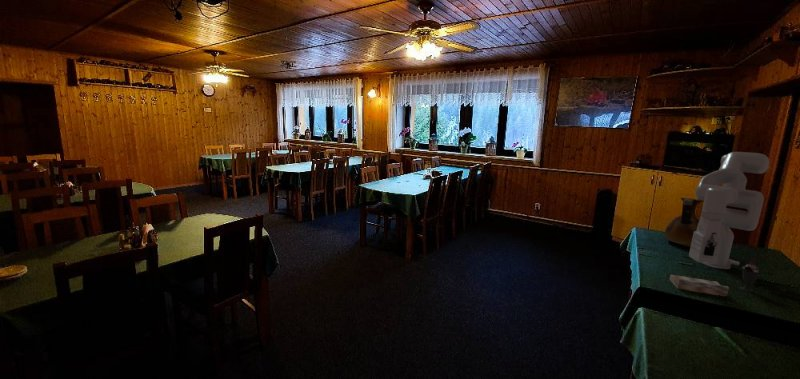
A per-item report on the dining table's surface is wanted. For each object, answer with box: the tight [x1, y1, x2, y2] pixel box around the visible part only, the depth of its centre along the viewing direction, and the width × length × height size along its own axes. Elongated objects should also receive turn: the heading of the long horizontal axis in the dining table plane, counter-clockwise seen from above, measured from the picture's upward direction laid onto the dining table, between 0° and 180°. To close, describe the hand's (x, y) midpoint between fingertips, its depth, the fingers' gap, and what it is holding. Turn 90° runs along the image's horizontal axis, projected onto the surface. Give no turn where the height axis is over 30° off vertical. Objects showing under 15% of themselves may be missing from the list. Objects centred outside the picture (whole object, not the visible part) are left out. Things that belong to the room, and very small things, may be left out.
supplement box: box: [688, 231, 722, 264], centre depth 156 cm, size 7×7×13 cm
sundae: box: [738, 258, 762, 293], centre depth 156 cm, size 7×7×15 cm
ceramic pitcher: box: [664, 197, 704, 248], centre depth 212 cm, size 20×20×30 cm
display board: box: [669, 274, 730, 297], centre depth 158 cm, size 18×10×4 cm, turn 69°
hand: (703, 251), depth 156 cm, fingers closed on supplement box, 8 cm apart
